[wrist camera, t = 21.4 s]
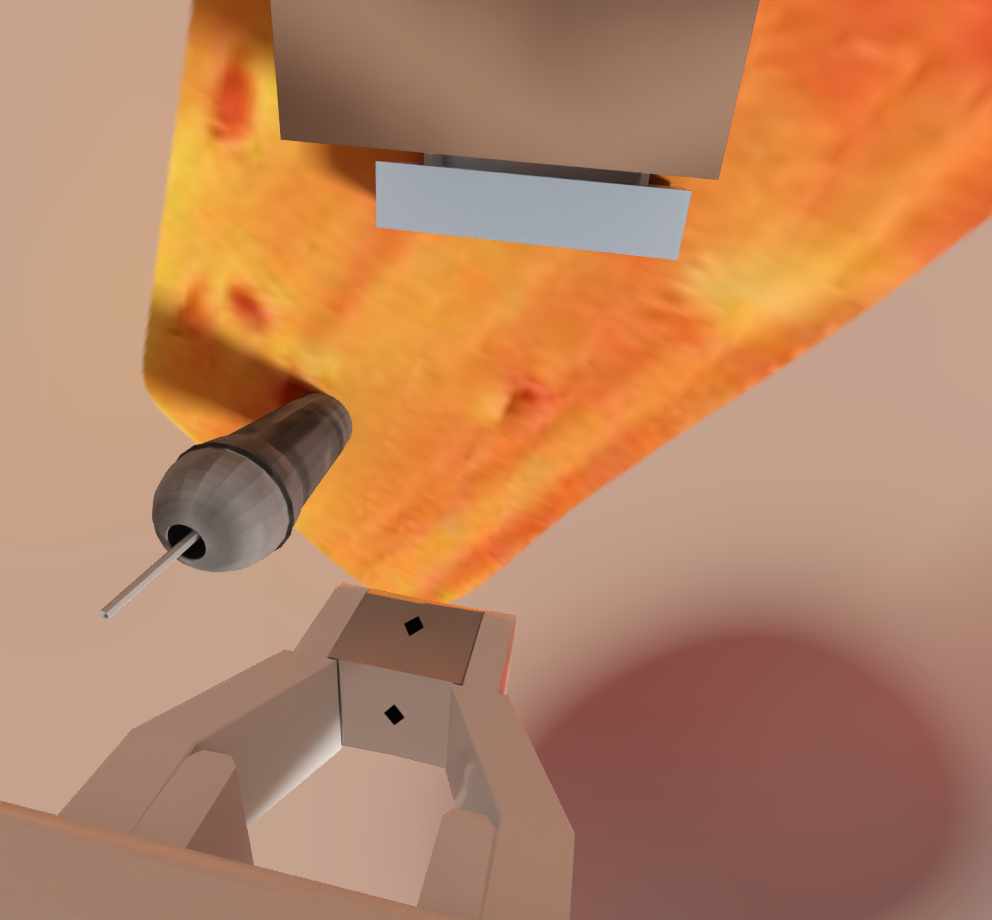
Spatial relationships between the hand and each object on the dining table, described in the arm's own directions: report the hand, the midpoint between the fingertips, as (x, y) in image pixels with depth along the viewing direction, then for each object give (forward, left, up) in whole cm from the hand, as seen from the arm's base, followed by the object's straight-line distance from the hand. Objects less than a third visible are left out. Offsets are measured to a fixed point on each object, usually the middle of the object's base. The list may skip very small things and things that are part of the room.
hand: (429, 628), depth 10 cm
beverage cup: (+11, -16, -29) cm, 35 cm away
